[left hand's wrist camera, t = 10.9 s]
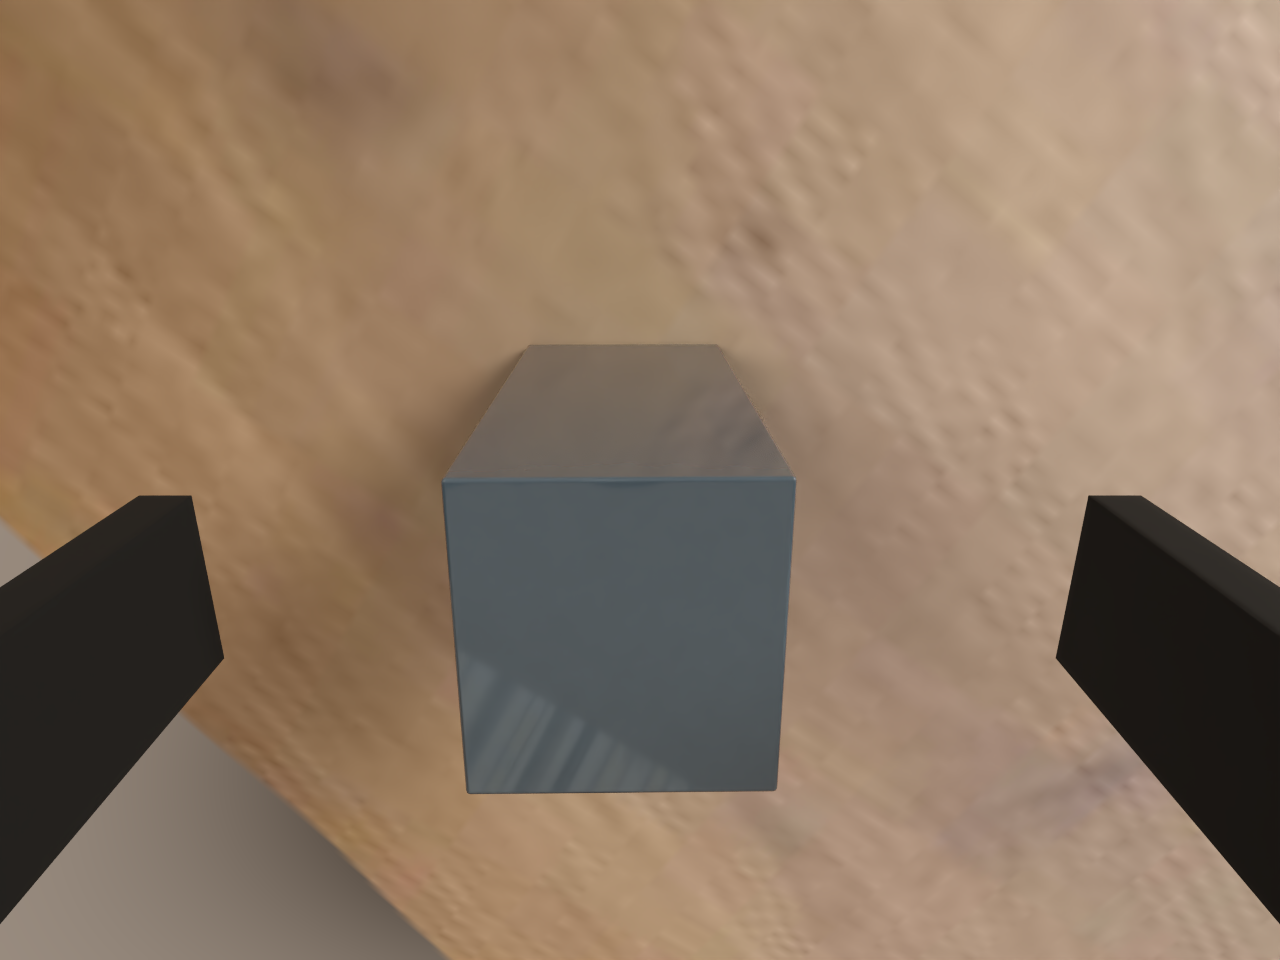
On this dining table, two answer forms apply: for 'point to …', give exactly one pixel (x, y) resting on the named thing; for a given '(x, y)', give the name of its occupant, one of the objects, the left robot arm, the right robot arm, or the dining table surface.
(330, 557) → the dining table surface
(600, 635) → the block
